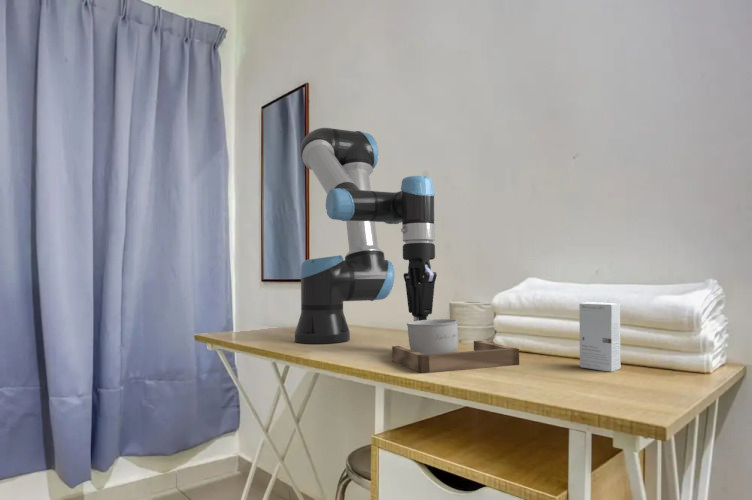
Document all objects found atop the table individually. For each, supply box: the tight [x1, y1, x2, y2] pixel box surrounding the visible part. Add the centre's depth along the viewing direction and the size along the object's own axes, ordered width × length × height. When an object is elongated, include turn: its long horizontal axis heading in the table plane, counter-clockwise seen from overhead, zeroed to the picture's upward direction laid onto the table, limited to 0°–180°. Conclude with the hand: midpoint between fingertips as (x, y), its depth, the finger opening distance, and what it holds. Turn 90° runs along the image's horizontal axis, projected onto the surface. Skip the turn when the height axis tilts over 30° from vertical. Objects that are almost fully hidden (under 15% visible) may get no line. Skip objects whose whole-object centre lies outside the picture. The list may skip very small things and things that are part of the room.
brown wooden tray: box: [391, 340, 520, 374], centre depth 98 cm, size 14×21×3 cm, turn 111°
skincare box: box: [579, 301, 622, 372], centre depth 90 cm, size 6×4×12 cm
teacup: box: [406, 318, 459, 355], centre depth 105 cm, size 14×11×8 cm
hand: (420, 344), depth 112 cm, fingers closed
